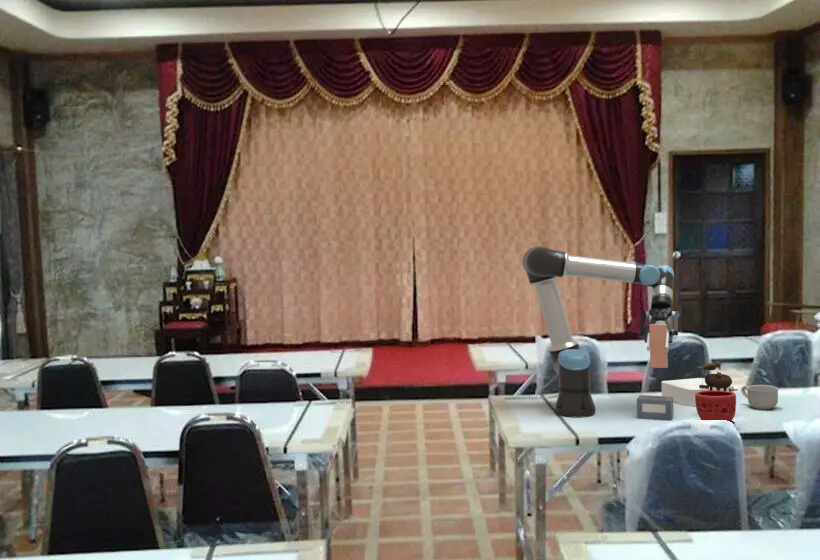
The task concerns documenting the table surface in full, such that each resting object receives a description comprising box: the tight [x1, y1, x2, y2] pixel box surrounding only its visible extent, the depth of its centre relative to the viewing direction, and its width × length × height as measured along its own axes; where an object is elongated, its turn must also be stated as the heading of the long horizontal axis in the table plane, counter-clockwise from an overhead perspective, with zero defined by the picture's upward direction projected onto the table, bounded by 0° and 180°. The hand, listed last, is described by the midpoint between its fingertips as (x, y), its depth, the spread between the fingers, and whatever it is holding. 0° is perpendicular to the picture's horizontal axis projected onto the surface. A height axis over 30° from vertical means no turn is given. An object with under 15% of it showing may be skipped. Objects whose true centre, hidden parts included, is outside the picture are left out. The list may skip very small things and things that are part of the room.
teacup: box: [740, 384, 779, 410], centre depth 297 cm, size 14×11×8 cm
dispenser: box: [636, 394, 675, 421], centre depth 285 cm, size 12×8×7 cm
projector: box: [661, 377, 735, 408], centre depth 313 cm, size 21×22×7 cm
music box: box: [696, 360, 739, 407], centre depth 287 cm, size 15×11×20 cm
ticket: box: [649, 323, 669, 369], centre depth 288 cm, size 6×2×16 cm, turn 65°
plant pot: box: [695, 391, 737, 426], centre depth 268 cm, size 13×13×12 cm
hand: (657, 349), depth 285 cm, fingers closed on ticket, 6 cm apart
